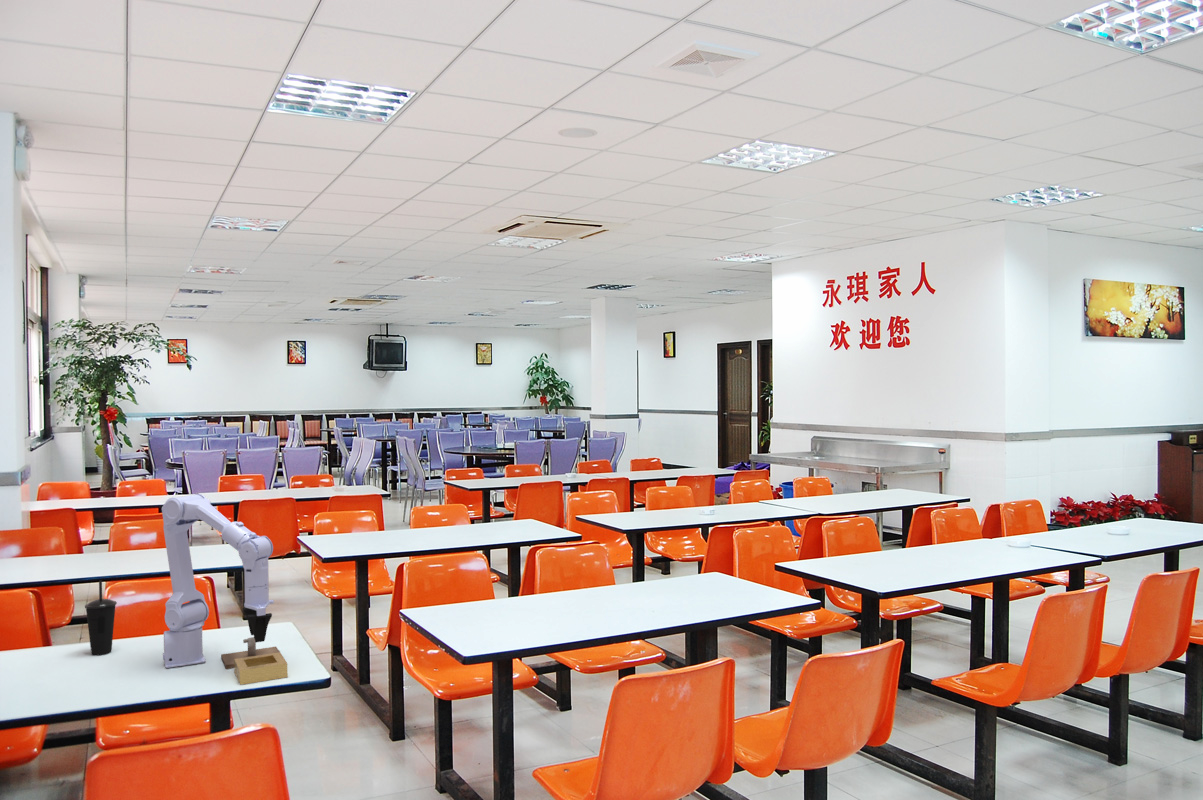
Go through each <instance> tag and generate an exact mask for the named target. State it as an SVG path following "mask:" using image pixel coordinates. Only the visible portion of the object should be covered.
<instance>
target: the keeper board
mask: <svg viewBox="0 0 1203 800" xmlns="http://www.w3.org/2000/svg"><path fill="white" fill-rule="evenodd" d="M242 641H243V644H246V643H247V650H242V651H237V652H236V651H235V652H230V653H223V654H221V655H220V659H221V662H222V664H223V665H224V669H226V670H228V669H234V659H238V658H245V657H251V656H258V655H265V654H271V653H278V652H280V650H279V649H278V647H277V646H270V647H262V648H256V647H257V645H256V644H257V642H255V639H254V636H253V637H252V636H250V637H247V638H245V639H243V640H242ZM280 653H281V652H280ZM281 655H282V656H283V654H282V653H281Z"/></svg>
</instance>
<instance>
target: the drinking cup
mask: <svg viewBox="0 0 1203 800" xmlns="http://www.w3.org/2000/svg"><path fill="white" fill-rule="evenodd" d="M98 588H99V589H98V593H99V594H98V597H99V599H98V598H97V599H94V600H91V601H90V602H89V603H86V604H85V605H84V608H85V610H86V611H85V612H86V620H87V628H88V636H89V637H88V638H89V646H90V654H91V655H92V656H96V657H97V656H102V655H109V654H110V653H112V651H113V650H112V648H113V638H114V629H115V628H114V625H115V616H116V615H115V614H116V605H117V603H118V601H116V600H113V599H109V598H103V580H99V581H98Z"/></svg>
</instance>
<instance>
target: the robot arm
mask: <svg viewBox="0 0 1203 800" xmlns="http://www.w3.org/2000/svg"><path fill="white" fill-rule="evenodd" d="M161 514H162V519H163V520H162V521H163V534H164V535H163V536H164V541H165V547H166V549H165V550H166V556H167V563H168V568H169V575H170V581H171V583H170V584H171V589H172V595H171V596H170V597H169V598H168V600H167V601H166V602H165V613H164V621H165V625H166V626H167V628H168V629H169V630H165V631H163V652H162V660H163V663H164V667H165V668H166V669H169V668H170V669H171V668H177V667H182V666H183V667H184V666H190V665H197V664H203V663H206V662H207V661H206V658H205V655H204V653H203V626H205V622H206V620H208V618H209V615H210V608H209V605H208V604H207V602H206V599H205V594H203V593H202V592H201V591H199V590H198V589H196V584H195V582H196V581H195V576H194V575H195V574H194V569H193V563H192V555H191V551H190V550H191V549H190V544H189V537H188V530H189V529H190V528H191V526H192V525H194V524H195V523H196V522H198V521H199V520H200V521H202V522H203V523H205V524H207V525H208V526H209V527H212V528H213V529H215V530H216V531H218V532H219V533H221V539H222V541H223V542H225V543H226V544H228V545H230V546H231V547H232V548H233V549H235V550H236V551H237V552H238V556H239V559H241V562H242V568H243V569H244V603H243V608H242V611H243V612H244V614H245V616H246V619H247V620H246V621H247V624H248V629H249V632H250V636H253V637H254V639H255V642H256V643H261V642H262V643H263V642H265V640H266V636H267V635H266V634H267V630H268V626H269V623H270V621H271V619H272V616H273V613H271V612H269V613H268V612H267V611H266V609H267V608H268V607H269V606H270V605H272V604H273V605H274V604H275V601H274V599H270V595H269V590H270V589H269V587H270V586H269V585H270V584H269V578H270V577H269V558H270V557H272V554H273V551H274V545H273V542H272V540H271V539H270V538H269V537H268V536H267V535H257V533H256V532H254V531H252V530H250V529H249V528H247V527H246V526H244V525H245V524H244V523H243V522H242V521H232V522H231V521H230V520H229V519H228V518H227V517H226V516H224V515H223V514H222V513H221V512H220V511H218V509H216V508H215V507H214V506H213V505H212V503H211V500H210V499H209V498H208V497H206V496H205V495H203V494H201V493H195V494H192V495H184V496H178V497H173V496H172V497H169V498H168V499H166V501H165V503H164V504H163V505H162V507H161ZM266 612H267V613H266Z"/></svg>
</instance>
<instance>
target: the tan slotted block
mask: <svg viewBox="0 0 1203 800" xmlns="http://www.w3.org/2000/svg"><path fill="white" fill-rule="evenodd" d="M281 654H282V653H281V652H278V653H271V654H265V655H258V656H251V657H245V658H238V659H234V668H233V671H234V672H233V673H234V675H235V676H236V680H237V681H238V683H239V685H240V686H241V685H242V684H243V685H248V684H254V683H260V682H265V681H272V680H279V679H284V678H288V662H287V660H286V659H285V658H284V656H283V654H282V655H281Z"/></svg>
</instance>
